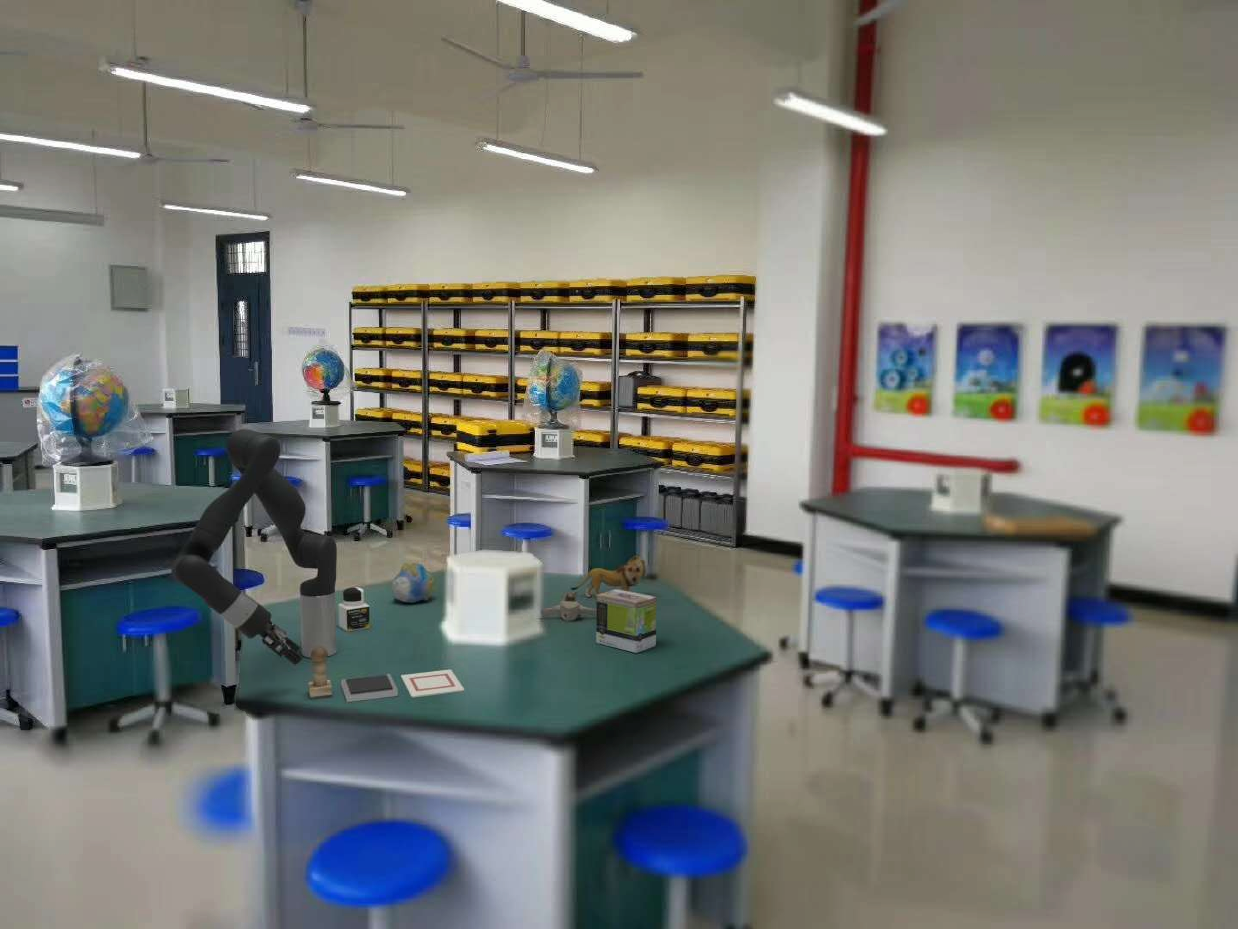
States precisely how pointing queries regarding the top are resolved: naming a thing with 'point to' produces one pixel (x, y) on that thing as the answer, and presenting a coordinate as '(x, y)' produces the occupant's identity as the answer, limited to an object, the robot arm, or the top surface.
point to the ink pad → (369, 688)
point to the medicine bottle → (353, 610)
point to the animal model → (616, 576)
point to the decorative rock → (413, 583)
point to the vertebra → (569, 608)
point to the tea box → (626, 620)
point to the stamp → (319, 675)
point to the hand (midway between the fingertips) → (298, 656)
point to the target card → (432, 683)
